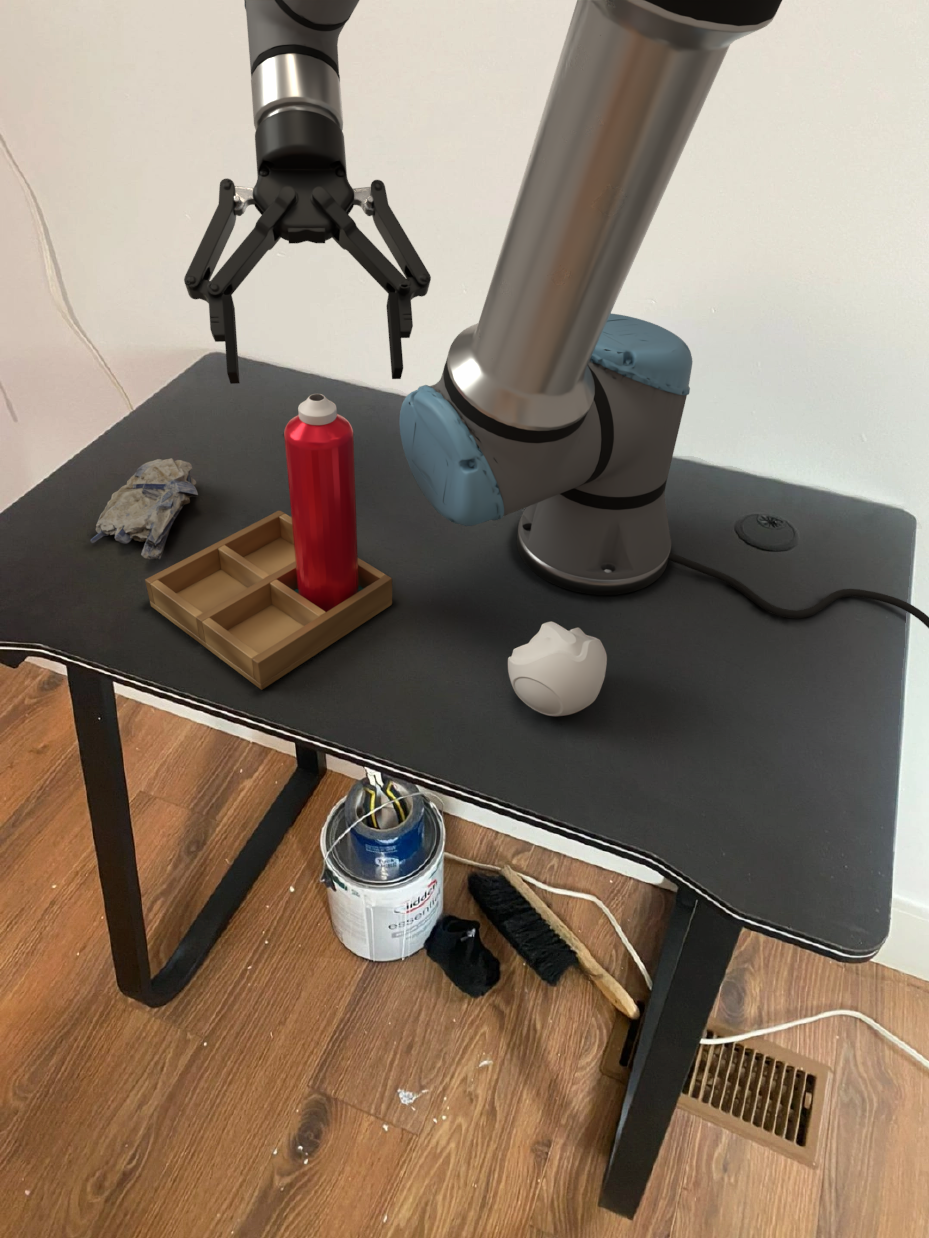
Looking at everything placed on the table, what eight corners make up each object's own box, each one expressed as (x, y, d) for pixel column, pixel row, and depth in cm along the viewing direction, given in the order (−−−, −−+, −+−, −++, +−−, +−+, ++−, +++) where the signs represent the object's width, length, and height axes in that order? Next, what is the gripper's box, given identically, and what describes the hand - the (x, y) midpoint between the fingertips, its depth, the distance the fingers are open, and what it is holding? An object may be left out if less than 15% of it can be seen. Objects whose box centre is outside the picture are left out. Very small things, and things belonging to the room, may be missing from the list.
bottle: (345, 573, 87) (336, 376, 74) (368, 606, 83) (363, 406, 70) (290, 588, 85) (270, 388, 72) (311, 623, 81) (295, 420, 68)
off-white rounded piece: (569, 659, 80) (581, 590, 75) (618, 717, 75) (634, 648, 70) (489, 686, 77) (495, 616, 72) (534, 748, 72) (545, 678, 67)
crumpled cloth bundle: (146, 478, 99) (139, 443, 96) (220, 490, 98) (215, 455, 95) (75, 557, 88) (65, 521, 85) (157, 571, 87) (149, 535, 84)
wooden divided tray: (392, 604, 85) (392, 578, 83) (261, 690, 76) (258, 663, 74) (282, 535, 92) (279, 509, 90) (150, 606, 83) (144, 579, 81)
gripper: (438, 158, 84) (457, 386, 83) (155, 156, 80) (169, 394, 79) (450, 107, 76) (470, 356, 75) (138, 102, 73) (153, 364, 71)
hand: (316, 376), depth 77 cm, fingers open, 13 cm apart
